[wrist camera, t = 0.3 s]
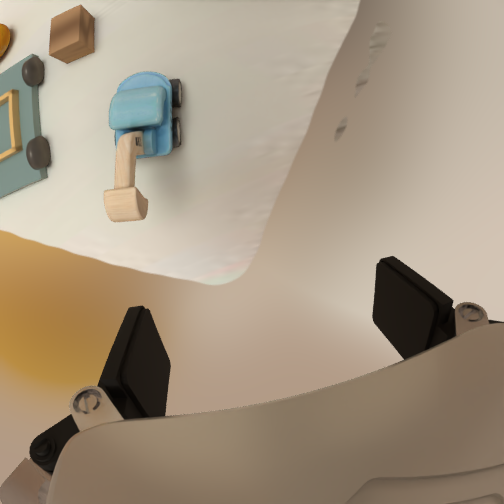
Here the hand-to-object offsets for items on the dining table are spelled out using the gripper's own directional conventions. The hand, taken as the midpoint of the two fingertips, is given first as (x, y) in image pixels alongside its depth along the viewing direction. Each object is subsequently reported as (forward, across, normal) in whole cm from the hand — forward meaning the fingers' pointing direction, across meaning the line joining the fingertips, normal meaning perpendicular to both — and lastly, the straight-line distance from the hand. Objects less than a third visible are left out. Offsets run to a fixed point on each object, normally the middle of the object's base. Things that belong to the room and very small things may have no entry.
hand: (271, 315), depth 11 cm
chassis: (+31, +35, -20) cm, 51 cm away
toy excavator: (+31, +9, -10) cm, 34 cm away
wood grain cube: (+31, +19, -30) cm, 47 cm away
